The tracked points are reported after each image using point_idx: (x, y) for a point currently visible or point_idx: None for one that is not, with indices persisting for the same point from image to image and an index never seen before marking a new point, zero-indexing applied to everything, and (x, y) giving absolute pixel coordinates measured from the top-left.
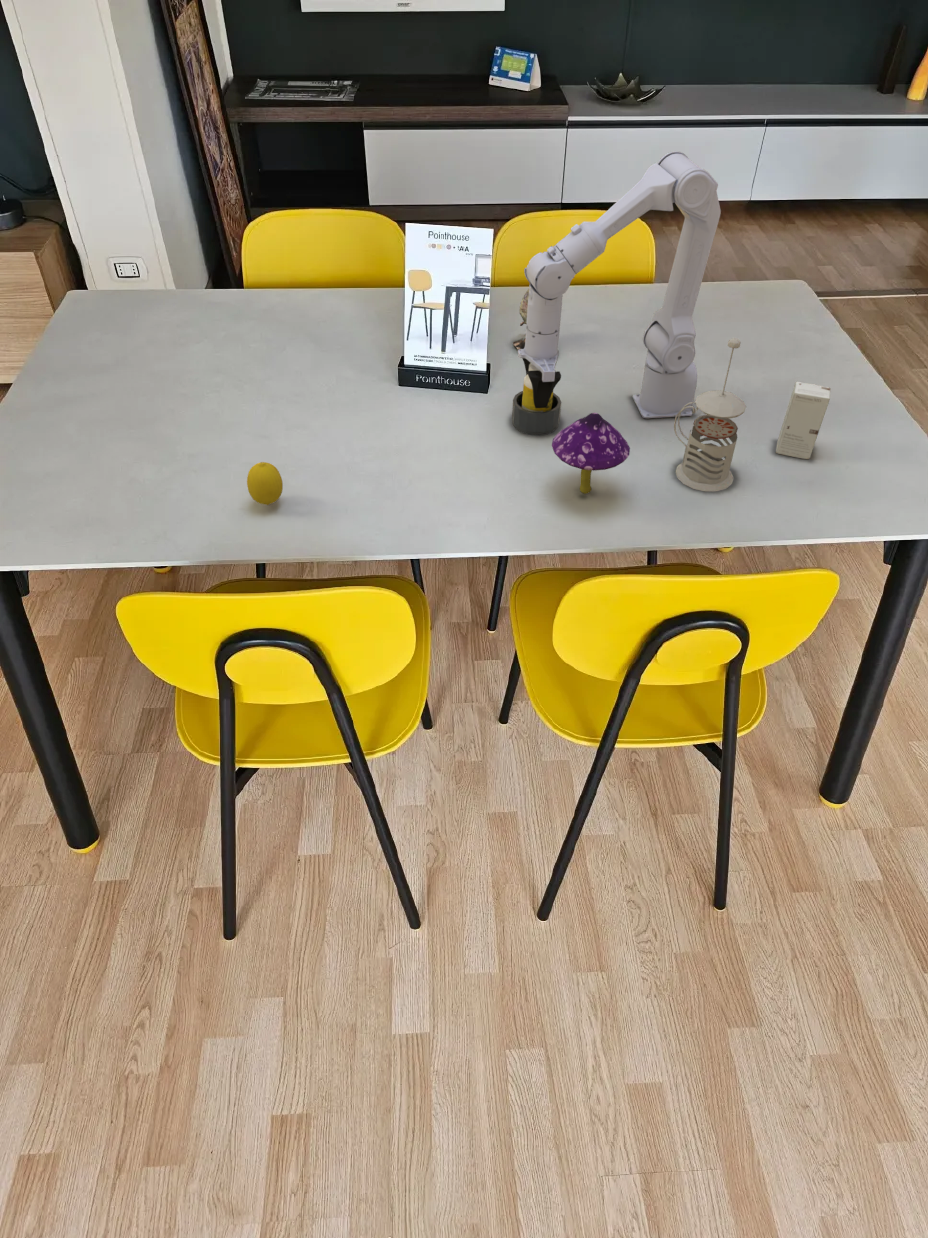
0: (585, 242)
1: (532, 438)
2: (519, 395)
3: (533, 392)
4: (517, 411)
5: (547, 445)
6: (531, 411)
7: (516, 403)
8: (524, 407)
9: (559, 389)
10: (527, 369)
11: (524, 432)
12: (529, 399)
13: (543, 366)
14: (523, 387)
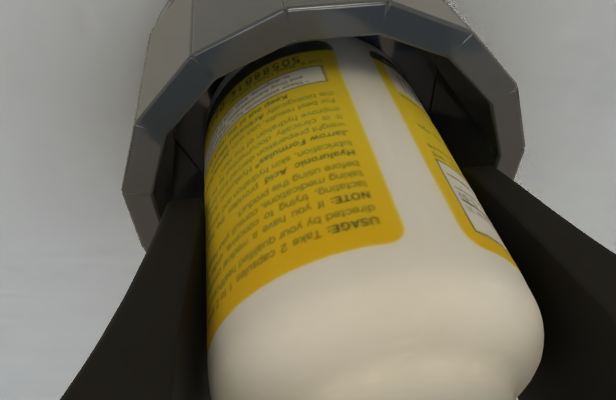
0: None
1: (103, 59)
2: (461, 71)
3: (127, 335)
4: (220, 18)
5: (35, 140)
6: (155, 155)
7: (309, 32)
8: (270, 92)
9: (582, 214)
10: (608, 334)
11: (163, 12)
12: (237, 193)
13: None
14: (379, 196)
